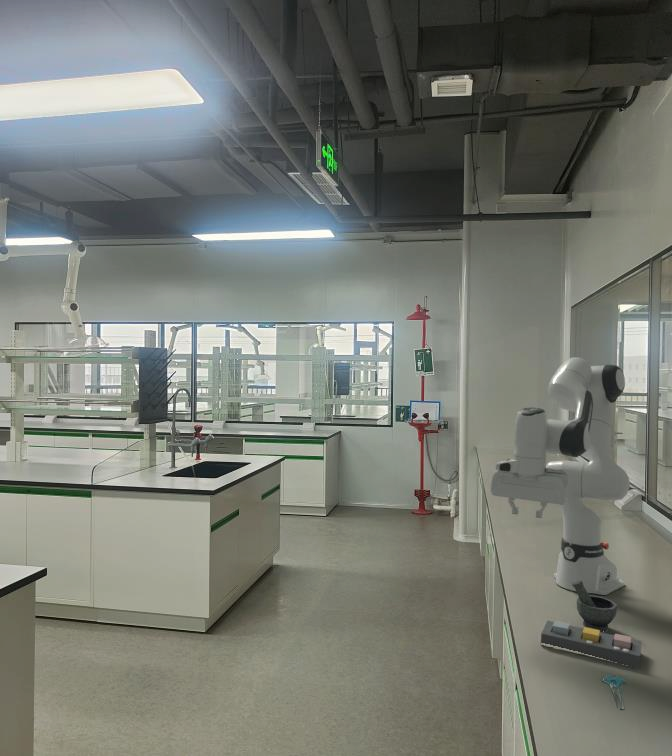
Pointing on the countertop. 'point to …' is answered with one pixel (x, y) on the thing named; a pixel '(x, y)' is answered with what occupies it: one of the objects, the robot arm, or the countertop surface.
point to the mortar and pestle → (594, 608)
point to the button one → (591, 634)
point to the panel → (593, 645)
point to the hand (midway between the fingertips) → (526, 515)
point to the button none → (561, 628)
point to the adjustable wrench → (614, 681)
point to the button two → (622, 641)
